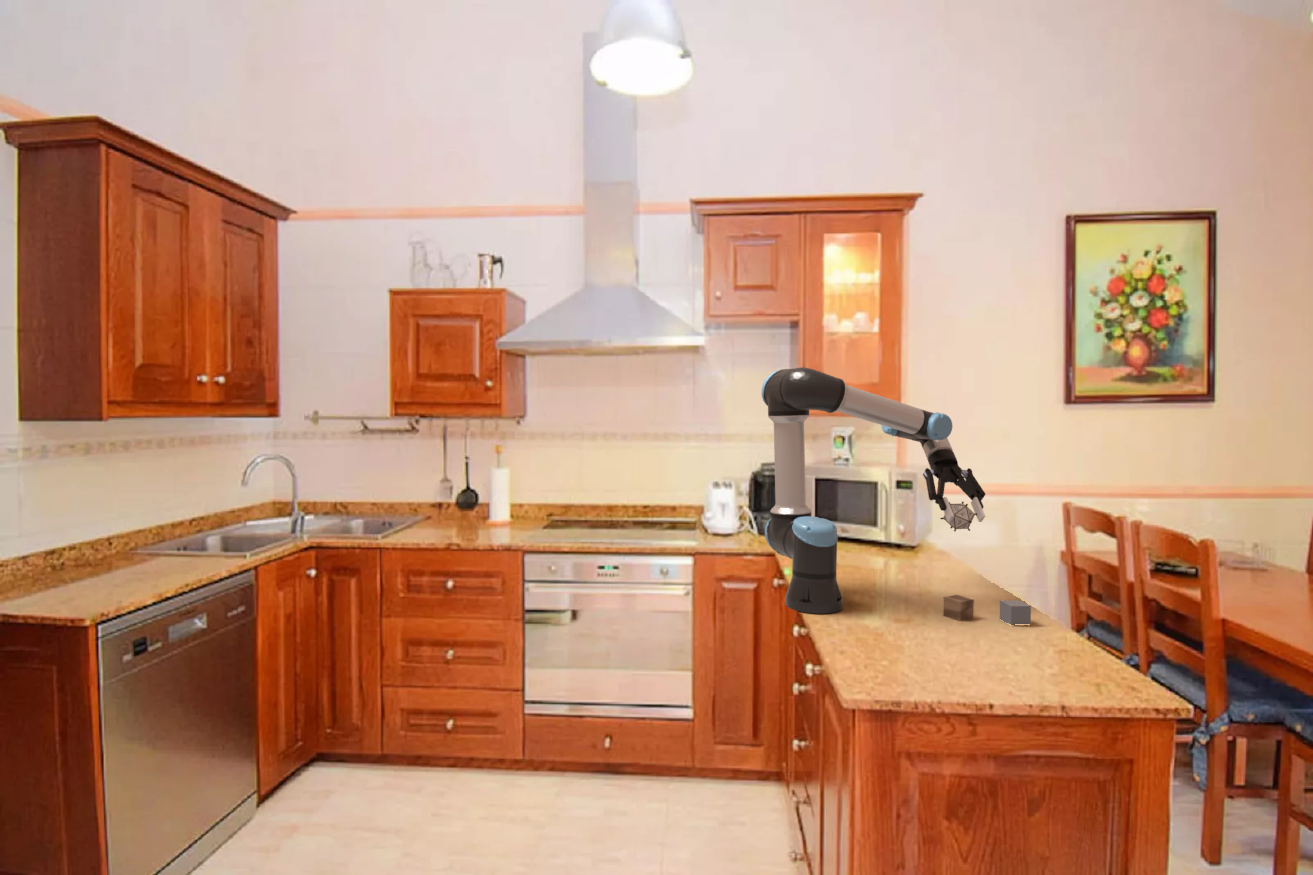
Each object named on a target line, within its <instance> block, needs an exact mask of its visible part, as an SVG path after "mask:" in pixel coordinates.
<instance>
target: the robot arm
mask: <svg viewBox="0 0 1313 875" xmlns="http://www.w3.org/2000/svg"><path fill="white" fill-rule="evenodd" d="M761 397H762V401H763V402H764V405H766V406H767V416H768V418H769V419H770V420H771V421H772V422H773V449H774V451H773V452H774V453H773V454H774V455H773V456H774V486H775V487H774V492H775V494H774V498H775V500H774V501H775V504H774V506H773V507H771V509H770V510H769V512H770V516H769V517H770V518H769V519H768V521H767V522H766V525H765V528H764V536H765V537H764V538H765V540H766V543H767V544H768V546H769V547H770V548H771V549H772V550H773V551H775V552H776V553H777V554H779V555H781V556H785V557H786V558H788V559H790V560H792V570H791V571H792V574H791V579H790V582H789V585H788V588H787V591H786V593H785V603H784V604H785V606H786V607H787V608H788V609H791V610H794V611H796V612H800V613H807V614H808V613H809V614H817V615H818V614H819V615H820V614H821V615H823V614H832V613H837V612H840V611H842V610H843V609H844V608H843V607H844V606H843V605H844V604H843V603H844V602H843V601H844V600H843V597H842V596H843V595H842V594H841V591H840V587H839V584H838V581H837V580H838V578H837V566H838V565H837V561H838V554H837V553H838V540H839V536H838V528H837V525H836V524H835V522H833V521H831V520H829V519H827V518H824V517H818V516H812V510H811V509H810V508H809V507H808V505H807V502H806V465H805V464H806V461H805V460H806V455H805V454H806V453H805V452H806V450H805V422H806V420H807V419H808V418H809V417H810V410H811V411H820V412H825V413H829V414H834V413H836V412H838V413H841V414H845V415H847V416H851V417H855V418H858V419H862V420H863V421H864V420H865V421H867V422H871V423H875V424H877V425H881V430H882V432H883V433H884V434H887V435H890V436H892V437H897V438H902V439H906V440H911V441H914V442H918V443H920V444H921V447H922V449H923V452H924V455H925V457H926V459H927V463H928V464H929V467H930V468H928V467H927V468H925V469H924V472H923V473H922V476H923V478H924V480H925V484H926V489H927V494H928V500H930V501H934V503H935V504H936V505H938V506H939V509H940V511H943V513H944V515H946V518H947V521H948V522H951V521H952V519H953V517H954V514H953V512H952V509H951V507H950V504H951V503H950V504H949V502H950V501H949V500H948V498H947V496H944V494H945V493H944V492H945V486H946V483H951V484H953V485H955V486H956V487H958V488H959V489H960V490H961V491H962V492H963V493H964V494H965V495H967V497H968V498H969V499H970V500H971V501H970V504H971V507H972V509H973V511H974V512H973V513H974V514H975V513H977V515H975V516H976V519H977V521H978V522H980V523H982V522H983V521H984V519H985V517H986V514H985V512H984V504H983V502H982V500H983V499H984V497H985V496H986V492H985V490H983V488H982V486H981V485H980V483H979V482H978V480H977V479H976V477H975V476H974V474H973V470H972V469H971V468H967V469H962V468H961V467H960V466H959V464H958V463H959V462H958V459H957V457H956V455H955V453H954V449H953V447H952V445H951V443H950V441H949V439H948V437H949V436H950V435H951V433H952V430H953V421H952V419H951V418H950V416H949V415H947V414H945V413H943V412H942V413H941V412H933V411H927V410H925V409H922V408H918V407H915V406H912V405H909V404H906V403H905V402H904V403H903V402H900V401H897V400H894V399H891V398H887V397H884V396H881V395H879V394H875V393H872V392H869V391H866V390H864V389H860V388H857V387H854V386H851V385H848V384H846V382H845V380H844V379H842V378H839V377H836V376H833V375H830V374H828V373H825V372H822V371H819V370H816V369H814V368H809V367H805V366H804V367H796V368H794V367H793V368H782V369H779V370H776V371H774V372H772V373H770V374H769V375H768V376H767V377H766V379H764V381H763V383H762V387H761ZM934 477H935V478H937V479H938V480H937V490H936V486H935V479H934Z"/></svg>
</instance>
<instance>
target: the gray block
mask: <svg viewBox="0 0 1313 875" xmlns="http://www.w3.org/2000/svg"><path fill="white" fill-rule="evenodd" d="M1031 612H1032V606H1031V605H1030V604H1027V603H1026V602H1023V601H1021V600H1017V599H1016V600H999V620H1000V619H1001V620H1003V621H1004V622H1003V621H1002V622H1003V623H1005V622H1006V623H1009V624H1011V625H1015V624H1031V623H1032V621H1031V617H1032V615H1031V614H1032V613H1031ZM1001 620H1000V621H1001ZM1006 623H1005V624H1006Z"/></svg>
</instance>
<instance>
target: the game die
mask: <svg viewBox="0 0 1313 875" xmlns="http://www.w3.org/2000/svg"><path fill="white" fill-rule="evenodd" d="M948 502H949V504H950V507H951V509H952V512H953V514H954V517H953V519H952V521H951V522H948V521H947V518H946V515H945V514H944V515H943V517H940V519H939V520H944V521H946V523H948V525H950V529H953V531H954V532H955V533H956V531H957V530H967V531H969V532H970V531H971V529H970V527H971V524H972V523H973V520H974V517H975V516H976V515H977V513H975V512H973V511H972V509H970V508H969V505H968V503H965V502H964V501H961V503H951V502H950V501H948Z"/></svg>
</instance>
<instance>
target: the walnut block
mask: <svg viewBox="0 0 1313 875" xmlns="http://www.w3.org/2000/svg"><path fill="white" fill-rule="evenodd" d="M974 601H975V600H974V598H969V597H966V596H962V595H959V594H954V595H948V596H943V611H942V612H943V614H942V616H943V617H946V618H949V619H952V620H955V621H958V622H962V621H968V620H972V619H974V607H975V606H974V605H975V602H974Z"/></svg>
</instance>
